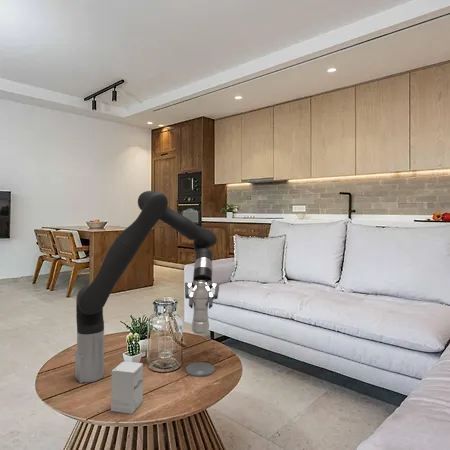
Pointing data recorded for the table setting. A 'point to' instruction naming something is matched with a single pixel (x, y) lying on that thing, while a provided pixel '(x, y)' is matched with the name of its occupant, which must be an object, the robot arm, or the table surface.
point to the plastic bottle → (200, 308)
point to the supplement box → (127, 387)
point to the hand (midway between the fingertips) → (200, 307)
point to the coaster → (200, 369)
